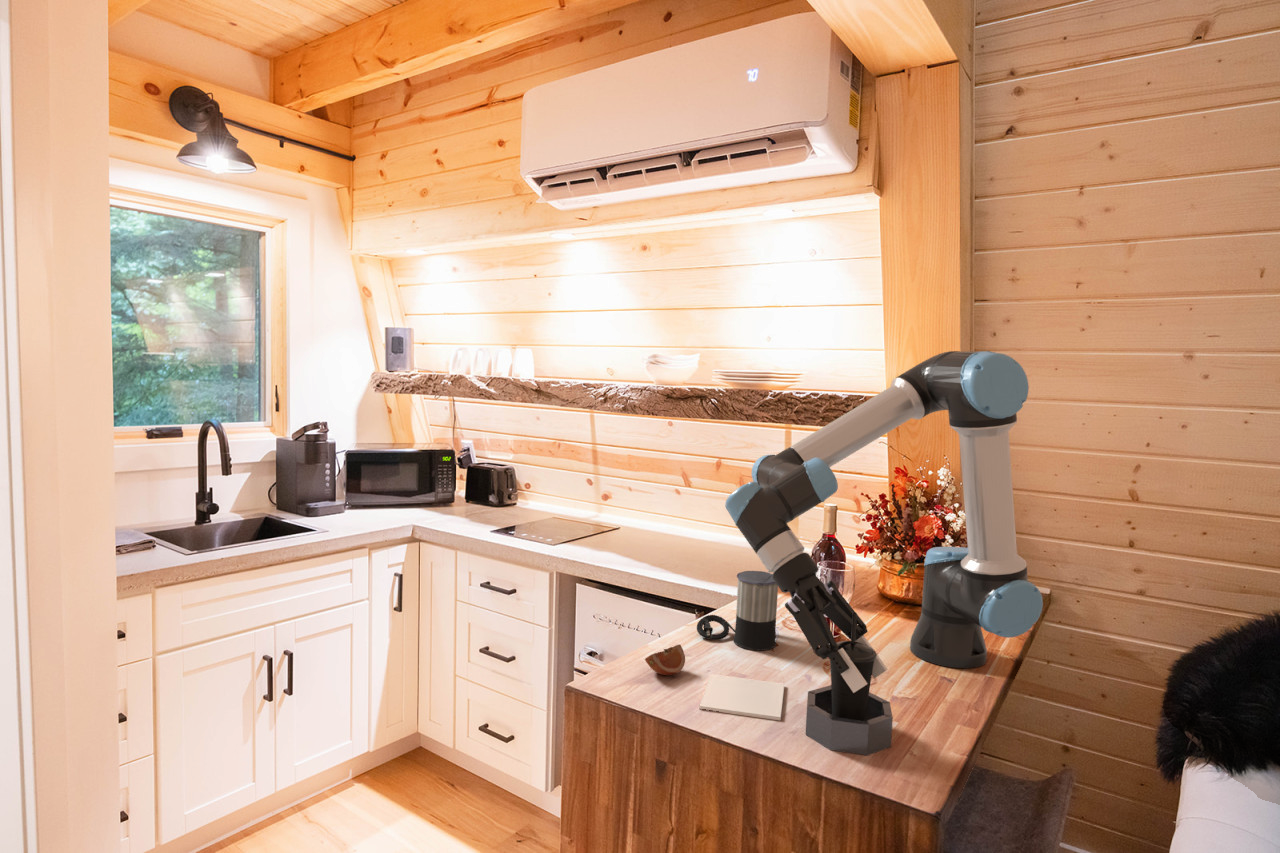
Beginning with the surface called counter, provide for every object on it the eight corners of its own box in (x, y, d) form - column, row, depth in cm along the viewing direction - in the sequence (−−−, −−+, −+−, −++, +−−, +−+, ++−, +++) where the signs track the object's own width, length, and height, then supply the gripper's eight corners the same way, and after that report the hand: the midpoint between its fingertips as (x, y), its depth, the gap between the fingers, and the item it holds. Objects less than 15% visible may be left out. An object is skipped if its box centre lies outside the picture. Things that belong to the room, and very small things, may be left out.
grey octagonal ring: (885, 720, 134) (887, 692, 133) (892, 759, 121) (895, 728, 120) (806, 709, 137) (808, 682, 136) (805, 746, 124) (806, 716, 123)
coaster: (784, 686, 146) (784, 683, 146) (780, 720, 132) (780, 717, 132) (710, 676, 149) (710, 673, 149) (699, 709, 135) (699, 705, 135)
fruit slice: (660, 685, 145) (661, 659, 144) (636, 673, 150) (637, 648, 149) (691, 673, 150) (692, 648, 150) (666, 662, 155) (667, 638, 155)
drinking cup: (820, 734, 127) (827, 616, 125) (827, 714, 134) (834, 602, 132) (868, 745, 124) (876, 624, 122) (873, 724, 131) (881, 609, 129)
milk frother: (783, 650, 164) (787, 581, 163) (714, 655, 160) (717, 585, 158) (755, 626, 178) (759, 563, 176) (691, 630, 173) (693, 566, 172)
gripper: (802, 563, 144) (880, 673, 135) (743, 586, 129) (826, 711, 120) (830, 541, 140) (912, 653, 131) (772, 561, 125) (860, 689, 116)
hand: (870, 680), depth 126 cm, fingers closed on drinking cup, 7 cm apart
